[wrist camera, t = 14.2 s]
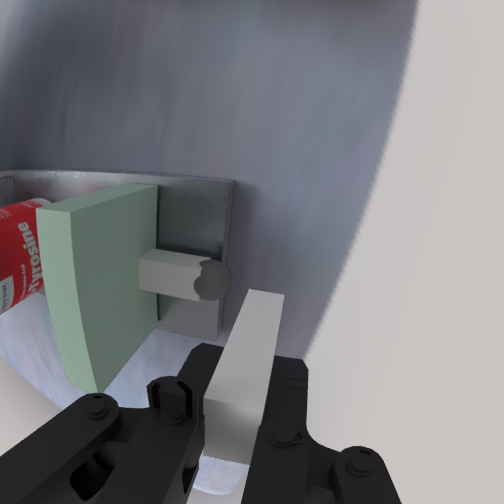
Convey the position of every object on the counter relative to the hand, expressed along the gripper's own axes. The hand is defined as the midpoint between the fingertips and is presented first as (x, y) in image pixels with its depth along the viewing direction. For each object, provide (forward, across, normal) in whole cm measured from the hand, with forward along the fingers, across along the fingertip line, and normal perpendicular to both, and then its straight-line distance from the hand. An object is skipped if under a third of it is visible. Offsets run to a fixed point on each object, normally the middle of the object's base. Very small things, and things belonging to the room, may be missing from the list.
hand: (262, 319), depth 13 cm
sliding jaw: (+4, -6, 0) cm, 7 cm away
